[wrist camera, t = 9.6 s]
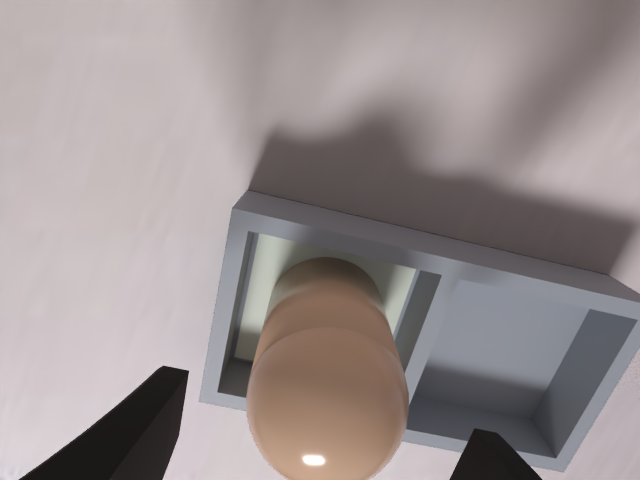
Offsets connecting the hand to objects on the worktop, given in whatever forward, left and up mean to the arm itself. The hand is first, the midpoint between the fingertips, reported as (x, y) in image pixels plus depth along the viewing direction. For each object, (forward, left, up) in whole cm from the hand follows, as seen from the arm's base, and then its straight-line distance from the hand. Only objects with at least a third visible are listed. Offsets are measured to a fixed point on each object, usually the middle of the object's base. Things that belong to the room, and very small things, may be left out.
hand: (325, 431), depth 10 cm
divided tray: (-3, 0, -7) cm, 8 cm away
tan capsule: (0, 0, -6) cm, 6 cm away
